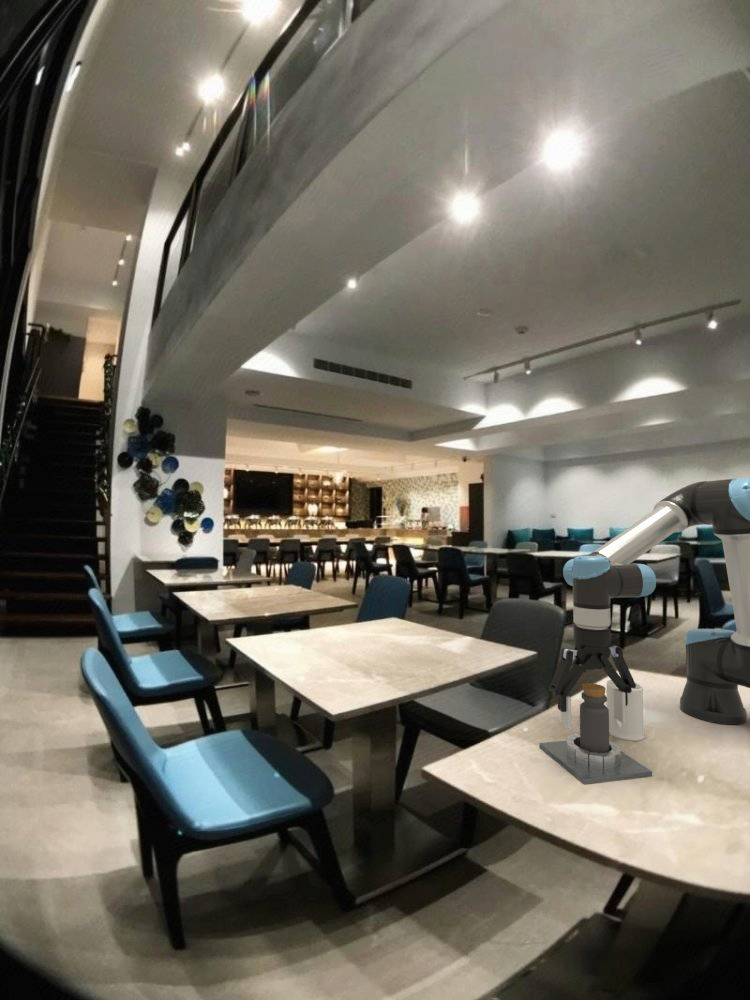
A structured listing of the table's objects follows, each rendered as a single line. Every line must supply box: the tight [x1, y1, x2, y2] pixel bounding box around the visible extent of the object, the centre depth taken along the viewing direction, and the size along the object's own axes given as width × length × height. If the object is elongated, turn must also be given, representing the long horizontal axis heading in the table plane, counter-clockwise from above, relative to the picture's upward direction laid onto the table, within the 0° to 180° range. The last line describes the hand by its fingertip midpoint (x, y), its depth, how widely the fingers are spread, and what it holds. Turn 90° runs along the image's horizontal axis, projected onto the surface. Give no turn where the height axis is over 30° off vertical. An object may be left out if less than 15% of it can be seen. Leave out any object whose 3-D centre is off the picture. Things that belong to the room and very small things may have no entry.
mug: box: [606, 679, 646, 742], centre depth 118 cm, size 12×8×12 cm
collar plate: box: [538, 733, 653, 785], centre depth 105 cm, size 16×16×4 cm
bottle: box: [579, 683, 610, 753], centre depth 105 cm, size 6×6×15 cm
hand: (593, 723), depth 105 cm, fingers open, 13 cm apart
